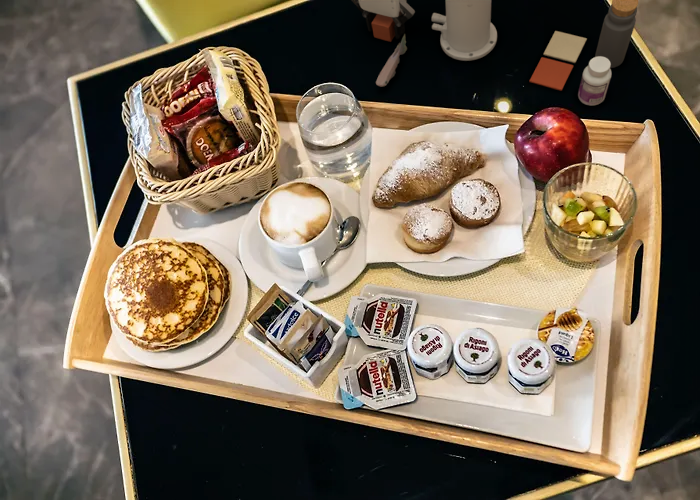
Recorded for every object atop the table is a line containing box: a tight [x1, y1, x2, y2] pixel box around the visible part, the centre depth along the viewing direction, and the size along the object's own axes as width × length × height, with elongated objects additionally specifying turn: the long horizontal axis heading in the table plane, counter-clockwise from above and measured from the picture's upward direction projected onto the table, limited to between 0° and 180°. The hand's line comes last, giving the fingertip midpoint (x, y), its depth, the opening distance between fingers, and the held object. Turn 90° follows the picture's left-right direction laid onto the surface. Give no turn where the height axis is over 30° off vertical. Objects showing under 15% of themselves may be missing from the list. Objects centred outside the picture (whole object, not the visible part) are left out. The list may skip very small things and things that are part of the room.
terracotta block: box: [372, 13, 395, 43], centre depth 141 cm, size 4×4×4 cm
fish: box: [375, 33, 408, 88], centre depth 135 cm, size 3×14×5 cm, turn 153°
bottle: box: [594, 0, 639, 69], centre depth 122 cm, size 6×6×15 cm
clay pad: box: [529, 56, 574, 92], centre depth 129 cm, size 7×7×1 cm
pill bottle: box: [577, 56, 612, 106], centre depth 121 cm, size 5×5×10 cm
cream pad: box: [543, 30, 588, 64], centre depth 132 cm, size 7×7×1 cm
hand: (386, 30), depth 142 cm, fingers open, 6 cm apart
